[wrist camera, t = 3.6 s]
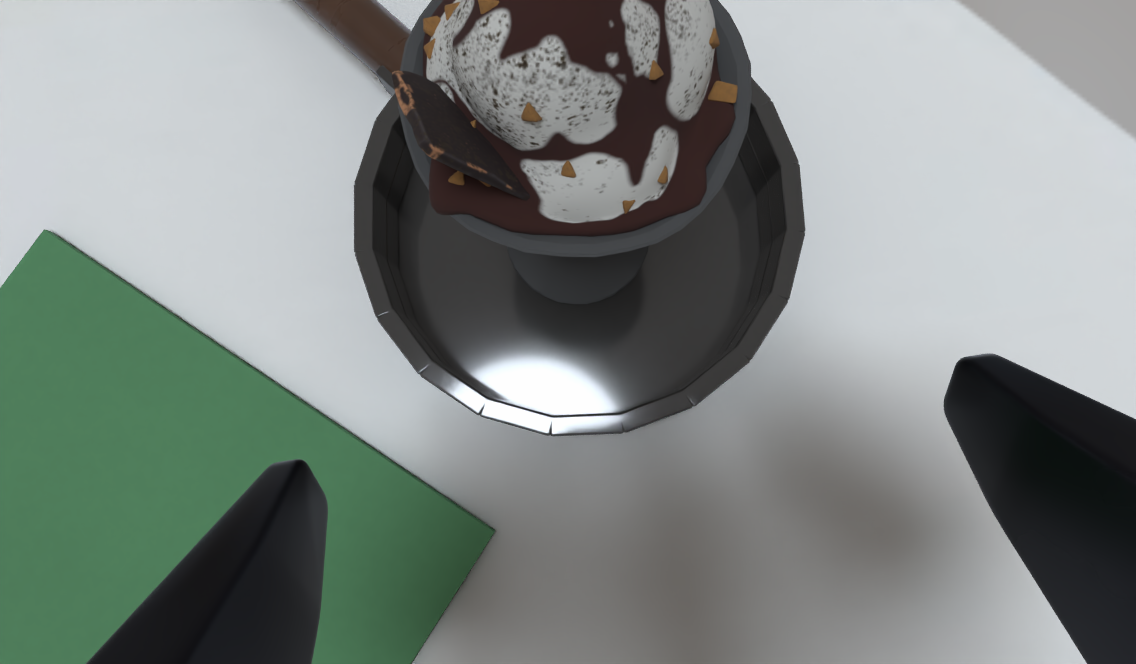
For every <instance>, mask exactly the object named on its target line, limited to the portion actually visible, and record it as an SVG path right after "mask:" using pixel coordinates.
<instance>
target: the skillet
mask: <svg viewBox="0 0 1136 664" xmlns="http://www.w3.org/2000/svg"><path fill="white" fill-rule="evenodd" d="M751 90H752V97H751V105H750V114H749V122H748V129H747V132H746V134H745V137H744V140H743V142H742V145H741V147H740V150H739V153H738V155H737V158H736V160H735V163H734V165H733V166H732V168H731V170H730V172H729V174H728V176H727V178H726V180H725V182H724V184H723V186H722V188H721V189H720V191H719V192H718V193H717V194H716V195H715V197H714V198H713V199H712V200H711V202H710V203H709V204H708V205H707V206H706V208H705V209H704V210H703V211H702V212H701V213H700V214H699V215H698V216H697V217H696V218H694V219H693V220H692V221H691V222H690V223H689V224H687V225H686V226H685V227H684V228H683V229H682V230H680V231H678V232H676V233H674V234H673V235H671V236H669V237H667V238H665V239H664V240H662V241H660V242H658V243H656V244H652V245H649V246H648V252H647V255H646V257H645V259H644V262H643V264H642V266H641V268H640V270H639V271H638V273H637V275H636V276H635V278H634V279H633V280H632V281H630V282H629V283H628V284H627V285H626V286H625V287H624V288H623V289H621V290H620V291H619V292H617V293H616V294H615V295H613V296H611V297H608V298H606V299H603V300H601V301H597V302H593V303H589V304H568V303H560V302H556V301H554V300H551V299H549V298H547V297H544V296H543V295H541V294H539V293H538V292H536V291H534V290H532V289H531V288H530V287H529V286H528V285H527V283H526V282H525V281H524V280H523V279H522V278H521V277H520V275H519V274H518V273H517V271H516V270H515V269H514V267H513V264H512V262H511V259H510V257H509V253H508V249H507V246H505V245H502V244H499V243H496V242H493V241H491V240H489V239H487V238H485V237H482V236H480V235H478V234H476V233H474V232H472V231H469V230H468V229H467V228H465V227H464V226H463V225H461V224H460V223H459V222H458V221H456V220H455V219H454V218H453V217H451V216H450V215H441V214H438V213H436V211H435V210H434V209H433V208H432V206H431V203H430V199H429V190H428V189H427V187H426V185H425V184H424V182H423V180H422V179H421V177H420V175H419V174H418V172H417V170H416V168H415V166H414V163H413V160H412V157H411V154H410V151H409V149H408V146H407V143H406V140H405V135H404V131H403V126H402V122H401V117H400V113H399V109H398V99H397V96H396V93H394V95H393V96H392V98H391V99H390V100H389V102H388V103H387V104H386V106H385V107H384V108H383V110H382V111H381V113H380V114H379V115H378V117H377V118H376V120H375V123H374V126H373V129H372V132H371V135H370V138H369V141H368V144H367V147H366V150H365V153H364V156H363V159H362V162H361V165H360V168H359V171H358V174H357V177H356V180H355V185H354V252H355V256H356V259H357V262H358V265H359V268H360V271H361V274H362V277H363V280H364V283H365V286H366V289H367V292H368V295H369V298H370V301H371V304H372V307H373V310H374V313H375V316H376V317H377V318H378V319H377V320H378V322H379V323H380V324H381V326H382V327H383V328H384V330H385V331H386V332H387V334H388V335H389V336H390V337H391V339H392V340H393V341H394V343H395V344H396V345H397V347H398V348H399V349H400V351H401V352H402V353H403V355H404V356H405V357H406V359H407V360H408V361H409V363H410V364H411V365H412V366H413V368H414V369H415V370H416V372H417V373H418V374H420V376H421V377H422V378H424V379H425V380H427V381H428V382H430V383H431V384H433V385H434V386H436V387H437V388H439V389H440V390H441V391H443V392H444V393H446V394H447V395H449V396H450V397H452V398H453V399H455V400H456V401H458V402H459V403H461V404H462V405H463V406H465V407H466V408H468V409H469V410H471V411H472V412H474V413H475V414H477V415H480V416H481V417H484V418H487V419H491V420H494V421H498V422H501V423H505V424H508V425H512V426H515V427H519V428H522V429H526V430H529V431H533V432H536V433H540V434H543V435H547V436H549V435H551V436H572V435H596V434H621V433H623V432H629V431H632V430H635V429H637V428H640V427H643V426H645V425H648V424H651V423H653V422H656V421H659V420H661V419H664V418H667V417H669V416H672V415H674V414H677V413H680V412H682V411H685V410H688V409H690V408H692V407H694V406H696V405H697V404H698V403H700V402H701V401H702V400H703V399H705V398H706V397H707V396H708V395H710V394H711V393H712V392H713V391H715V390H716V389H717V388H718V387H719V386H721V385H722V384H723V383H724V382H726V381H727V380H728V379H729V378H731V377H732V376H733V375H734V374H736V373H737V372H738V371H739V370H740V369H742V368H743V367H744V366H745V365H747V364H748V363H749V362H750V360H751V359H752V358H753V357H754V355H755V353H756V352H757V350H758V349H759V347H760V345H761V344H762V342H763V341H764V339H765V338H766V336H767V334H768V333H769V331H770V330H771V328H772V327H773V325H774V323H775V322H776V320H777V319H778V317H779V316H780V314H781V312H782V311H783V309H784V308H785V306H786V305H787V303H788V300H789V298H790V294H791V290H792V286H793V282H794V278H795V273H796V269H797V265H798V261H799V257H800V253H801V249H802V245H803V240H804V236H805V233H804V232H805V222H804V211H803V199H802V188H801V177H800V166H799V164H798V159H797V157H796V155H795V152H794V150H793V148H792V145H791V143H790V141H789V139H788V136H787V134H786V132H785V129H784V127H783V125H782V123H781V120H780V118H779V116H778V113H777V111H776V109H775V107H774V104H773V102H772V101H771V99H770V98H769V97H768V95H767V94H766V93H765V92H764V91H763V90H762V89H761V88H760V86H759V85H758V84H757V83H756V82H755V81H754V80H753V79H752V77H751Z"/></svg>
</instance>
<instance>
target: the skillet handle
mask: <svg viewBox="0 0 1136 664" xmlns="http://www.w3.org/2000/svg"><path fill="white" fill-rule="evenodd" d="M294 1H295V2H296V3H297V4H298V5H299V6H300V7H301V8H303V9H304V10H305V11H306V12H307V13H308V14H309V15H310V16H312V17H313V18H314V19H315V20H316V21H317V22H318V23H319V24H320V25H322V26H323V27H324V28H325V29H326V30H327V31H328V32H329V33H331V34H332V35H333V36H334V37H335V38H336V39H337V40H338V41H339V42H341V43H342V44H343V45H344V46H345V47H346V48H347V49H348V50H350V51H351V52H352V53H353V54H354V55H355V56H356V57H357V58H359V59H360V60H361V61H362V62H363V63H364V64H365V65H366V66H367V67H369V68H370V69H371V70H372V71H373V72H374V73H375V74H376V75H377V76H378V78H379V79H380V81H381V83H382V84H383V86H384V87H385V89H386V91H387V92H388V93H390V94H391V95H392V96H393V95H394V93H395V89H394V85H393V80H392V72H394V71H400V67H401V62H402V57H403V52H404V47H405V43H406V41H407V39H408V37H409V35H410V33H411V30H409V29H408V28H407V27H406V26H405V25H404V24H403V23H401V22H400V21H399V20H398V19H397V18H396V17H395V16H394V15H392V14H391V13H390V12H389V11H388V10H387V9H386V8H384V7H383V6H382V5H381V4H380V3H379V2H378V1H376V0H294Z"/></svg>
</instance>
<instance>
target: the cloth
mask: <svg viewBox="0 0 1136 664" xmlns="http://www.w3.org/2000/svg"><path fill="white" fill-rule="evenodd" d="M294 459H302V460H304V461H305V462H306V463H307V464H308V465H309V467H310V469H311V471H312V472H313V474H314V476H315V478H316V479H317V481H318V483H319V485H320V486H321V488H322V490H323V492H324V494H325V496H326V499H327V504H328V519H327V533H326V547H325V560H324V574H323V587H322V601H321V610H320V619H319V625H318V632H317V637H316V643H315V648H314V653H313V659H312V664H411V663H412V662H413V660H414V658H415V657H416V655H417V654H418V652H419V651H420V649H421V647H422V646H423V644H424V643H425V641H426V639H427V638H428V636H429V635H430V633H431V632H432V630H433V628H434V627H435V625H436V624H437V622H438V621H439V619H440V617H441V616H442V614H443V613H444V611H445V610H446V608H447V606H448V605H449V603H450V602H451V600H452V599H453V597H454V595H455V594H456V592H457V591H458V589H459V588H460V586H461V584H462V583H463V581H464V580H465V578H466V577H467V575H468V573H469V572H470V570H471V569H472V567H473V565H474V564H475V562H476V561H477V559H478V558H479V556H480V554H481V553H482V551H483V550H484V548H485V547H486V545H487V543H488V542H489V540H490V539H491V537H492V536H493V534H494V532H495V530H494V529H493V528H491V527H490V526H488V525H487V524H485V523H484V522H482V521H481V520H479V519H478V518H476V517H475V516H473V515H472V514H470V513H469V512H467V511H466V510H464V509H463V508H461V507H460V506H458V505H457V504H455V503H454V502H452V501H451V500H450V499H448V498H447V497H445V496H444V495H442V494H441V493H439V492H438V491H436V490H435V489H433V488H432V487H430V486H429V485H427V484H426V483H424V482H423V481H421V480H420V479H418V478H417V477H415V476H414V475H412V474H411V473H409V472H408V471H406V470H405V469H403V468H402V467H400V466H399V465H397V464H396V463H394V462H393V461H392V460H390V459H389V458H387V457H386V456H384V455H383V454H381V453H380V452H378V451H377V450H375V449H374V448H372V447H371V446H369V445H368V444H366V443H365V442H363V441H362V440H360V439H359V438H357V437H356V436H354V435H353V434H351V433H350V432H348V431H347V430H345V429H344V428H342V427H341V426H339V425H338V424H336V423H335V422H333V421H332V420H331V419H329V418H328V417H326V416H325V415H323V414H322V413H320V412H319V411H317V410H316V409H314V408H313V407H311V406H310V405H308V404H307V403H305V402H304V401H302V400H301V399H299V398H298V397H296V396H295V395H293V394H292V393H290V392H289V391H287V390H286V389H284V388H283V387H281V386H280V385H278V384H277V383H275V382H274V381H273V380H271V379H270V378H268V377H267V376H265V375H264V374H262V373H261V372H259V371H258V370H256V369H255V368H253V367H252V366H250V365H249V364H247V363H246V362H244V361H243V360H241V359H240V358H238V357H237V356H235V355H234V354H232V353H231V352H229V351H228V350H226V349H225V348H223V347H222V346H220V345H219V344H217V343H216V342H214V341H213V340H212V339H210V338H209V337H207V336H206V335H204V334H203V333H201V332H200V331H198V330H197V329H195V328H194V327H192V326H191V325H189V324H188V323H186V322H185V321H183V320H182V319H180V318H179V317H177V316H176V315H174V314H173V313H171V312H170V311H168V310H167V309H165V308H164V307H162V306H161V305H159V304H158V303H156V302H155V301H154V300H152V299H151V298H149V297H148V296H146V295H145V294H143V293H142V292H140V291H139V290H137V289H136V288H134V287H133V286H131V285H130V284H128V283H127V282H125V281H124V280H122V279H121V278H119V277H118V276H116V275H115V274H113V273H112V272H110V271H109V270H107V269H106V268H104V267H103V266H101V265H100V264H98V263H97V262H95V261H94V260H93V259H91V258H90V257H88V256H87V255H85V254H84V253H82V252H81V251H79V250H78V249H76V248H75V247H73V246H72V245H70V244H69V243H67V242H66V241H64V240H63V239H61V238H60V237H58V236H57V235H55V234H54V233H52V232H51V231H48V230H43V232H42V233H41V234H40V236H39V237H38V238H37V240H36V241H35V242H34V244H33V245H32V246H31V248H30V249H29V250H28V252H27V253H26V254H25V256H24V257H23V258H22V260H21V261H20V262H19V264H18V265H17V266H16V268H15V269H14V270H13V272H12V273H11V274H10V276H9V277H8V278H7V280H6V281H5V282H4V284H3V285H2V286H1V288H0V664H86V663H87V662H88V661H89V659H90V658H91V657H92V656H93V655H94V654H95V653H96V652H97V651H98V650H99V649H100V648H101V646H102V645H103V644H104V643H105V642H106V641H107V640H108V639H109V638H110V637H111V636H112V635H113V634H114V632H115V631H116V630H117V629H118V628H119V627H120V626H121V625H122V624H123V623H124V622H125V621H126V619H127V618H128V617H129V616H130V615H131V614H132V613H133V612H134V611H135V610H136V609H137V608H138V607H139V605H140V604H141V603H142V602H143V601H144V600H145V599H146V598H147V597H148V596H149V595H150V594H151V592H152V591H153V590H154V589H155V588H156V587H157V586H158V585H159V584H160V583H161V582H162V581H163V580H164V578H165V577H166V576H167V575H168V574H169V573H170V572H171V571H172V570H173V569H174V568H175V567H176V565H177V564H178V563H179V562H180V561H181V560H182V559H183V558H184V557H185V556H186V555H187V554H188V553H189V551H190V550H191V549H192V548H193V547H194V546H195V545H196V544H197V543H198V542H199V541H200V540H201V538H202V537H203V536H204V535H205V534H206V533H207V532H208V531H209V530H210V529H211V528H212V527H213V526H214V524H215V523H216V522H217V521H218V520H219V519H220V518H221V517H222V516H223V515H224V514H225V513H226V511H227V510H228V509H229V508H230V507H231V506H232V505H233V504H234V503H235V502H236V501H237V500H238V499H239V497H240V496H241V495H242V494H243V493H244V492H245V491H246V490H247V489H248V488H249V487H250V486H251V484H252V483H253V482H254V481H255V480H256V479H257V478H258V477H259V476H260V475H261V474H262V473H263V472H264V470H265V469H266V468H267V467H268V466H270V465H271V464H273V463H276V462H281V461H288V460H294Z"/></svg>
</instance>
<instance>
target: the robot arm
mask: <svg viewBox="0 0 1136 664" xmlns="http://www.w3.org/2000/svg"><path fill="white" fill-rule="evenodd" d="M944 412H945V416H946V418H947V420H948V422H949V424H950V426H951V429H952V431H953V433H954V435H955V437H956V439H957V441H958V443H959V445H960V447H961V449H962V451H963V453H964V455H965V457H966V459H967V461H968V463H969V465H970V468H971V470H972V472H973V474H974V476H975V478H976V480H977V482H978V484H979V486H980V488H981V490H982V492H983V494H984V496H985V498H986V500H987V502H988V504H989V506H990V508H991V510H992V512H993V513H994V515H995V517H996V519H997V520H998V522H999V524H1000V525H1001V527H1002V529H1003V530H1004V532H1005V534H1006V535H1007V537H1008V538H1009V540H1010V541H1011V543H1012V545H1013V546H1014V548H1015V549H1016V551H1017V553H1018V554H1019V556H1020V557H1021V559H1022V561H1023V562H1024V564H1025V565H1026V567H1027V569H1028V570H1029V572H1030V573H1031V575H1032V577H1033V578H1034V580H1035V581H1036V583H1037V584H1038V586H1039V588H1040V589H1041V591H1042V592H1043V594H1044V596H1045V597H1046V599H1047V600H1048V602H1049V604H1050V605H1051V607H1052V608H1053V610H1054V612H1055V613H1056V615H1057V616H1058V618H1059V620H1060V621H1061V623H1062V624H1063V626H1064V627H1065V629H1066V631H1067V632H1068V634H1069V635H1070V637H1071V639H1072V640H1073V642H1074V643H1075V645H1076V647H1077V648H1078V650H1079V651H1080V653H1081V655H1082V656H1083V658H1084V659H1085V661H1086V663H1087V664H1136V419H1134V418H1132V417H1130V416H1128V415H1125V414H1123V413H1121V412H1119V411H1117V410H1115V409H1112V408H1110V407H1108V406H1106V405H1104V404H1102V403H1100V402H1097V401H1095V400H1093V399H1091V398H1089V397H1087V396H1085V395H1082V394H1080V393H1078V392H1076V391H1074V390H1072V389H1069V388H1067V387H1065V386H1063V385H1061V384H1059V383H1057V382H1054V381H1052V380H1050V379H1048V378H1046V377H1044V376H1041V375H1039V374H1037V373H1035V372H1033V371H1031V370H1029V369H1026V368H1024V367H1022V366H1020V365H1018V364H1016V363H1013V362H1011V361H1009V360H1007V359H1005V358H1003V357H1001V356H998V355H995V354H981V355H975V356H968V357H964V358H961V359H960V360H959V361H958V362H957V363H956V365H955V368H954V371H953V374H952V377H951V380H950V383H949V386H948V389H947V392H946V395H945V398H944ZM327 519H328V504H327V499H326V496H325V494H324V492H323V490H322V488H321V486H320V485H319V483H318V481H317V479H316V478H315V476H314V474H313V472H312V471H311V469H310V467H309V465H308V464H307V463H306V462H305V461H304V460H302V459H294V460H288V461H281V462H276V463H273V464H271V465H270V466H268V467H267V468H266V469H265V470H264V472H263V473H262V474H261V475H260V476H259V477H258V478H257V479H256V480H255V481H254V482H253V483H252V484H251V486H250V487H249V488H248V489H247V490H246V491H245V492H244V493H243V494H242V495H241V496H240V497H239V499H238V500H237V501H236V502H235V503H234V504H233V505H232V506H231V507H230V508H229V509H228V510H227V511H226V513H225V514H224V515H223V516H222V517H221V518H220V519H219V520H218V521H217V522H216V523H215V524H214V526H213V527H212V528H211V529H210V530H209V531H208V532H207V533H206V534H205V535H204V536H203V537H202V538H201V540H200V541H199V542H198V543H197V544H196V545H195V546H194V547H193V548H192V549H191V550H190V551H189V553H188V554H187V555H186V556H185V557H184V558H183V559H182V560H181V561H180V562H179V563H178V564H177V565H176V567H175V568H174V569H173V570H172V571H171V572H170V573H169V574H168V575H167V576H166V577H165V578H164V580H163V581H162V582H161V583H160V584H159V585H158V586H157V587H156V588H155V589H154V590H153V591H152V592H151V594H150V595H149V596H148V597H147V598H146V599H145V600H144V601H143V602H142V603H141V604H140V605H139V607H138V608H137V609H136V610H135V611H134V612H133V613H132V614H131V615H130V616H129V617H128V618H127V619H126V621H125V622H124V623H123V624H122V625H121V626H120V627H119V628H118V629H117V630H116V631H115V632H114V634H113V635H112V636H111V637H110V638H109V639H108V640H107V641H106V642H105V643H104V644H103V645H102V646H101V648H100V649H99V650H98V651H97V652H96V653H95V654H94V655H93V656H92V657H91V658H90V659H89V661H88V662H87V663H86V664H312V659H313V653H314V648H315V643H316V637H317V632H318V625H319V619H320V610H321V601H322V587H323V574H324V560H325V547H326V533H327Z"/></svg>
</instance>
